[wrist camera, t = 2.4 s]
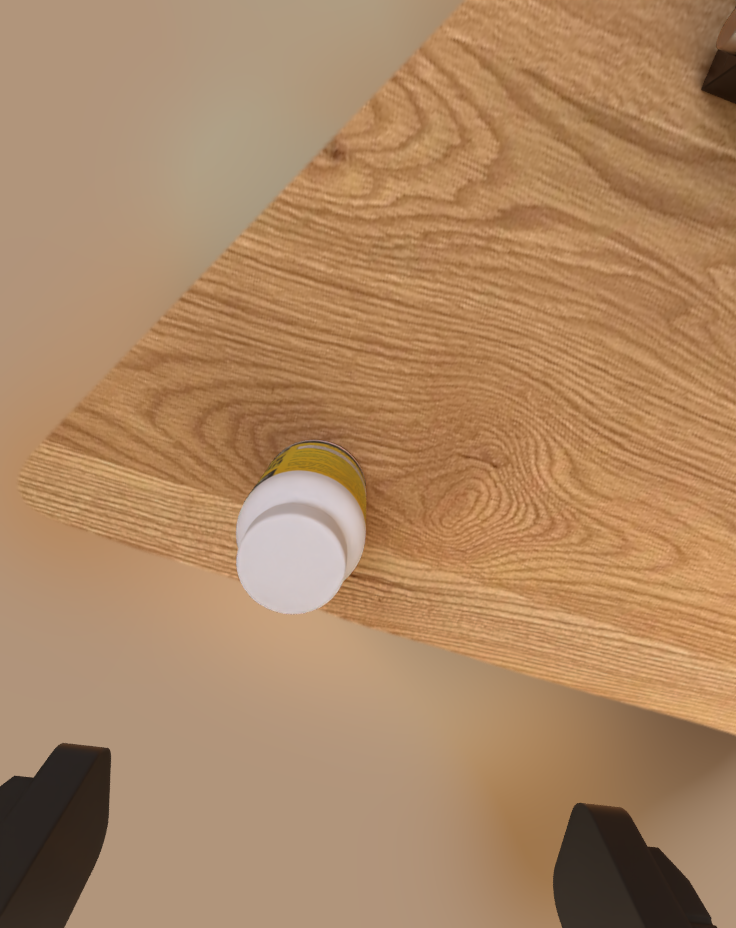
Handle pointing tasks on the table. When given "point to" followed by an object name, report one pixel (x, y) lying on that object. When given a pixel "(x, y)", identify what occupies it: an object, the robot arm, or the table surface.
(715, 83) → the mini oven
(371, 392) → the table surface
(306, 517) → the supplement bottle
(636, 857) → the robot arm
